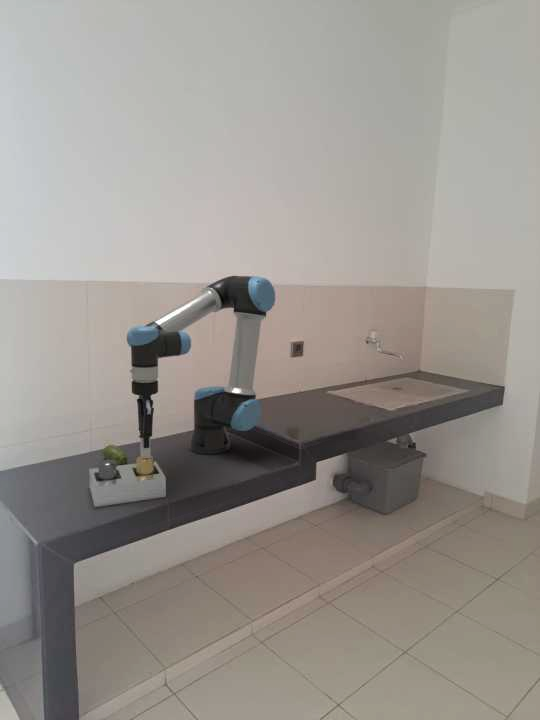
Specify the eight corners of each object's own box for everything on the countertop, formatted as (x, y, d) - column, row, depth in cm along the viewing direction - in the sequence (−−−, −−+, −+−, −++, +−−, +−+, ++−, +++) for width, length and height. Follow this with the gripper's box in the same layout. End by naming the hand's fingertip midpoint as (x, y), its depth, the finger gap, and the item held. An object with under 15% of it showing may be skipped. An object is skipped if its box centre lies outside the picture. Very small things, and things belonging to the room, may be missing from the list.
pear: (113, 441, 185) (132, 451, 180) (111, 454, 186) (130, 465, 181) (100, 444, 180) (118, 456, 175) (98, 458, 182) (117, 470, 177)
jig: (155, 479, 167) (155, 449, 165) (165, 496, 154) (165, 464, 153) (89, 487, 159) (88, 456, 157) (94, 507, 146) (93, 473, 145)
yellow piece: (152, 485, 162) (151, 454, 160) (155, 491, 158) (154, 459, 156) (135, 487, 160) (135, 456, 159) (138, 494, 156) (137, 462, 154)
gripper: (128, 376, 157) (129, 451, 161) (135, 385, 146) (136, 466, 150) (153, 374, 160) (153, 448, 164) (162, 383, 149) (162, 463, 153)
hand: (145, 456), depth 157 cm, fingers closed
